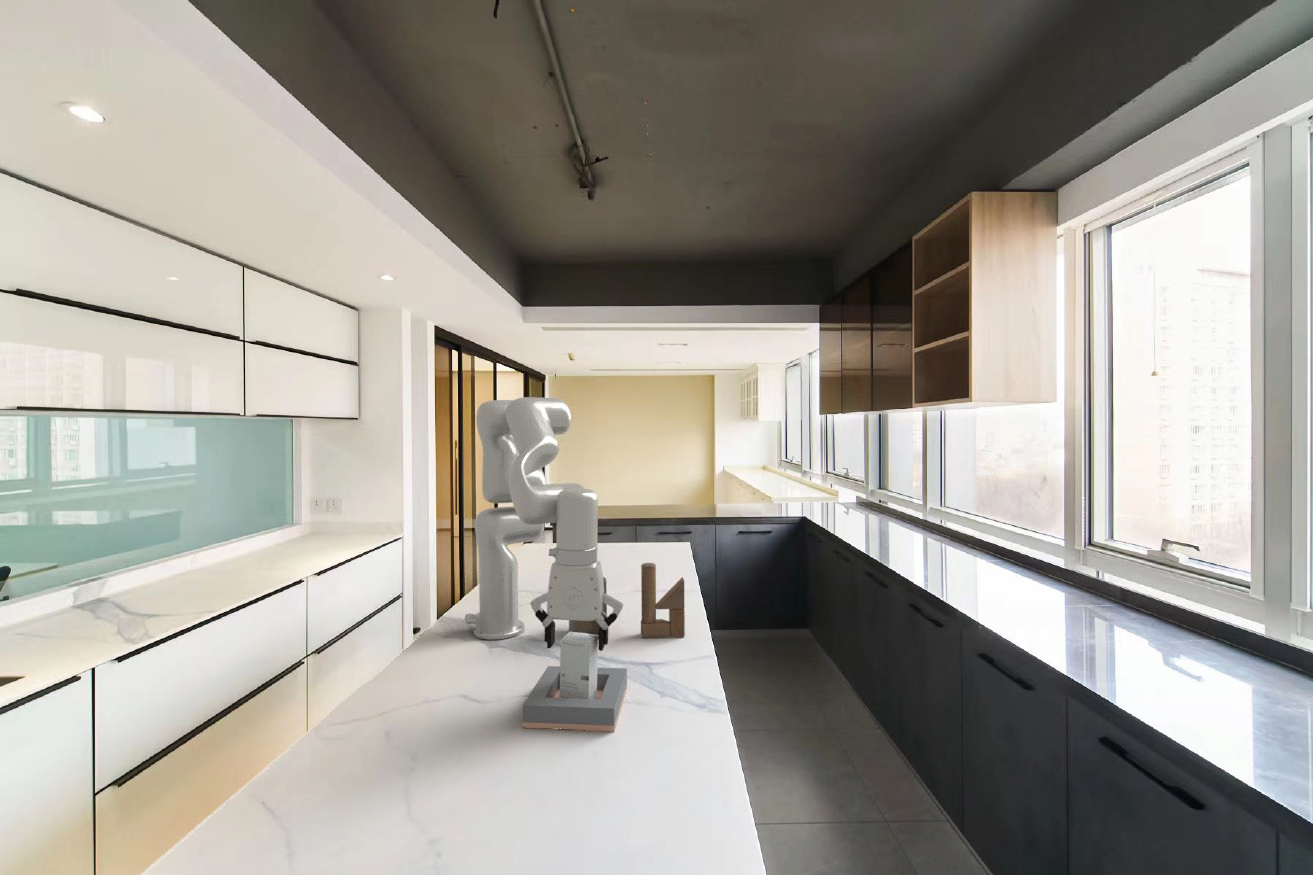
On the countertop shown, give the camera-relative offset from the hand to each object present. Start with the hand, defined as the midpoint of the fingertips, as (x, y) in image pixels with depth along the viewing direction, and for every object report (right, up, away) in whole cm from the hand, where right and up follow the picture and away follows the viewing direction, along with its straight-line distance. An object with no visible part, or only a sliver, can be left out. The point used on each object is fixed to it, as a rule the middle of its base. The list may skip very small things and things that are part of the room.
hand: (576, 646), depth 105 cm
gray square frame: (0, -11, 0) cm, 11 cm away
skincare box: (+1, -10, 0) cm, 10 cm away
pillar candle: (-2, -11, +37) cm, 39 cm away
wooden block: (+16, -11, +35) cm, 40 cm away
